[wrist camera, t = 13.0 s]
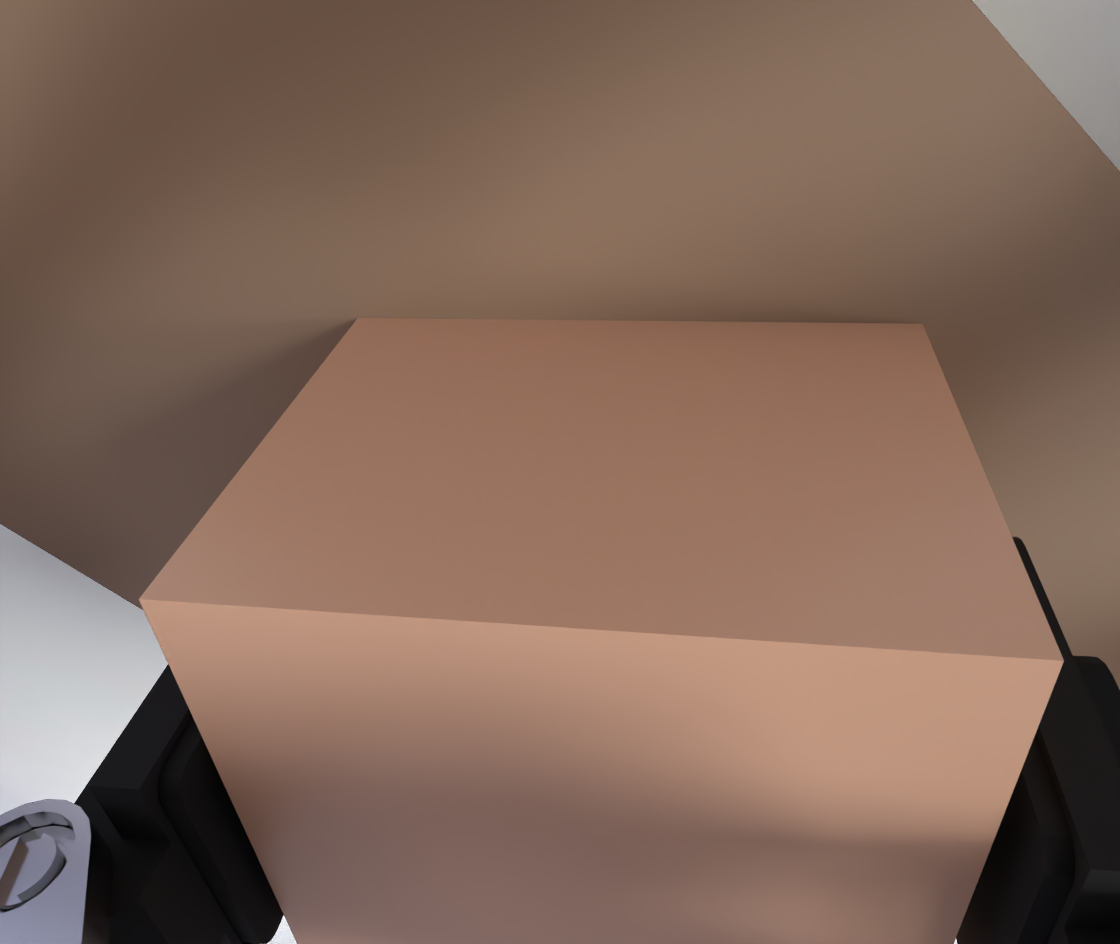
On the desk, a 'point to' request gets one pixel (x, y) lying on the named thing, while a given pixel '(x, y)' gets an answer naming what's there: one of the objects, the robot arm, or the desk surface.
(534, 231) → the board
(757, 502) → the peach tapered block
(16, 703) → the desk surface
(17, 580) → the desk surface
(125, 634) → the desk surface
